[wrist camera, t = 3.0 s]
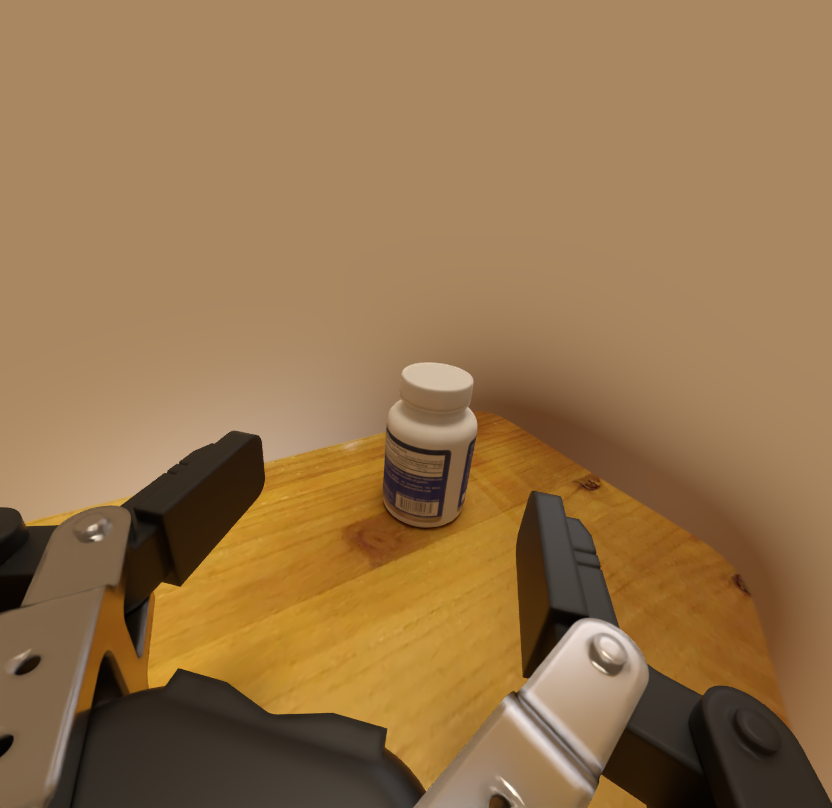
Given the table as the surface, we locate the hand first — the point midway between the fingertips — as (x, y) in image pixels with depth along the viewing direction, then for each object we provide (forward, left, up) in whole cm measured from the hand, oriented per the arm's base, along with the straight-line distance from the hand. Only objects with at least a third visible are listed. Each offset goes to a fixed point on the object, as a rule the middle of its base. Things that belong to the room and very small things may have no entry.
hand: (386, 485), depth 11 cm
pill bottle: (+8, -7, -10) cm, 15 cm away
